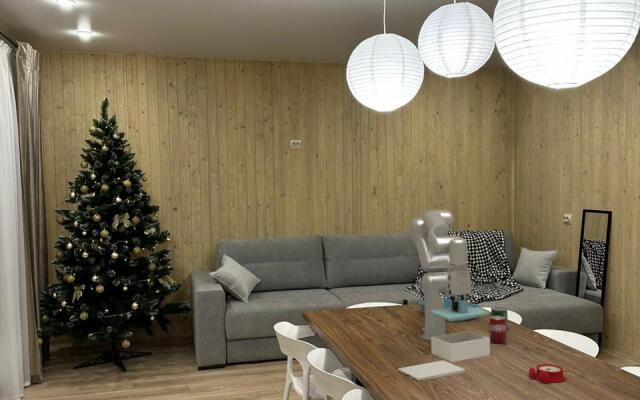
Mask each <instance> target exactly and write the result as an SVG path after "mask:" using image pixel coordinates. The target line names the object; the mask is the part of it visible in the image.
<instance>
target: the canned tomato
mask: <svg viewBox="0 0 640 400" xmlns="http://www.w3.org/2000/svg"><path fill="white" fill-rule="evenodd" d="M508 314H509V313H508V308H506V307H502V306H493V307H490V317H492V316H502V317H505V318H506V333H507V332H509V321H508V319H509V318H508Z"/></svg>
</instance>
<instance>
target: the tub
mask: <svg viewBox="0 0 640 400" xmlns="http://www.w3.org/2000/svg"><path fill="white" fill-rule="evenodd" d="M445 334H446V333H445ZM430 342H431V343H430V344H431V347H430V348H431V355H435V356H436V357H439V358H441V359H442V360H443V359H444V360H445V361H447V362H449V363H454V362H460V361H465V360H466V361H467V360H470V359H476V358H480V357H481V358H482V357H486V356H490V355H491V343H490V337H488V336H485V335H482V334H479V333H476V332H473V331H470V330H465V331H460V332H454V333H453V332H452V333H447V334H446V335H440V336H434V337H431V341H430Z"/></svg>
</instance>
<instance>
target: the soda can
mask: <svg viewBox="0 0 640 400" xmlns="http://www.w3.org/2000/svg"><path fill="white" fill-rule="evenodd" d="M489 338H490V345H491V344H492V345H497V346H504V345H506V344H507V342H508V341H507V340H508V339H507V338H508V337H507V332H506V318H505V317H502V316H492V317H491V316H490V317H489Z"/></svg>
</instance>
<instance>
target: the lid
mask: <svg viewBox="0 0 640 400" xmlns="http://www.w3.org/2000/svg"><path fill="white" fill-rule="evenodd" d="M449 299H450V298H449ZM457 302H458V311H454V310H452V301H451V299H450V308H447V309H440V310H433V311H429V313H431V314H434V316H437V317H439V318H442V319H445V321H448V322H454V321H457V320H463V319H470V318H474V319H475V318H482V317H485V316H486V315H489V314H490V312H489V311H486V309H485V308H481V307H480V308H478V307H475V308H474V307H470V306H468V303H469V302H468V300H466V301H464V300H461V299H460V298H458V297H457ZM470 320H471V319H470Z"/></svg>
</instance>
